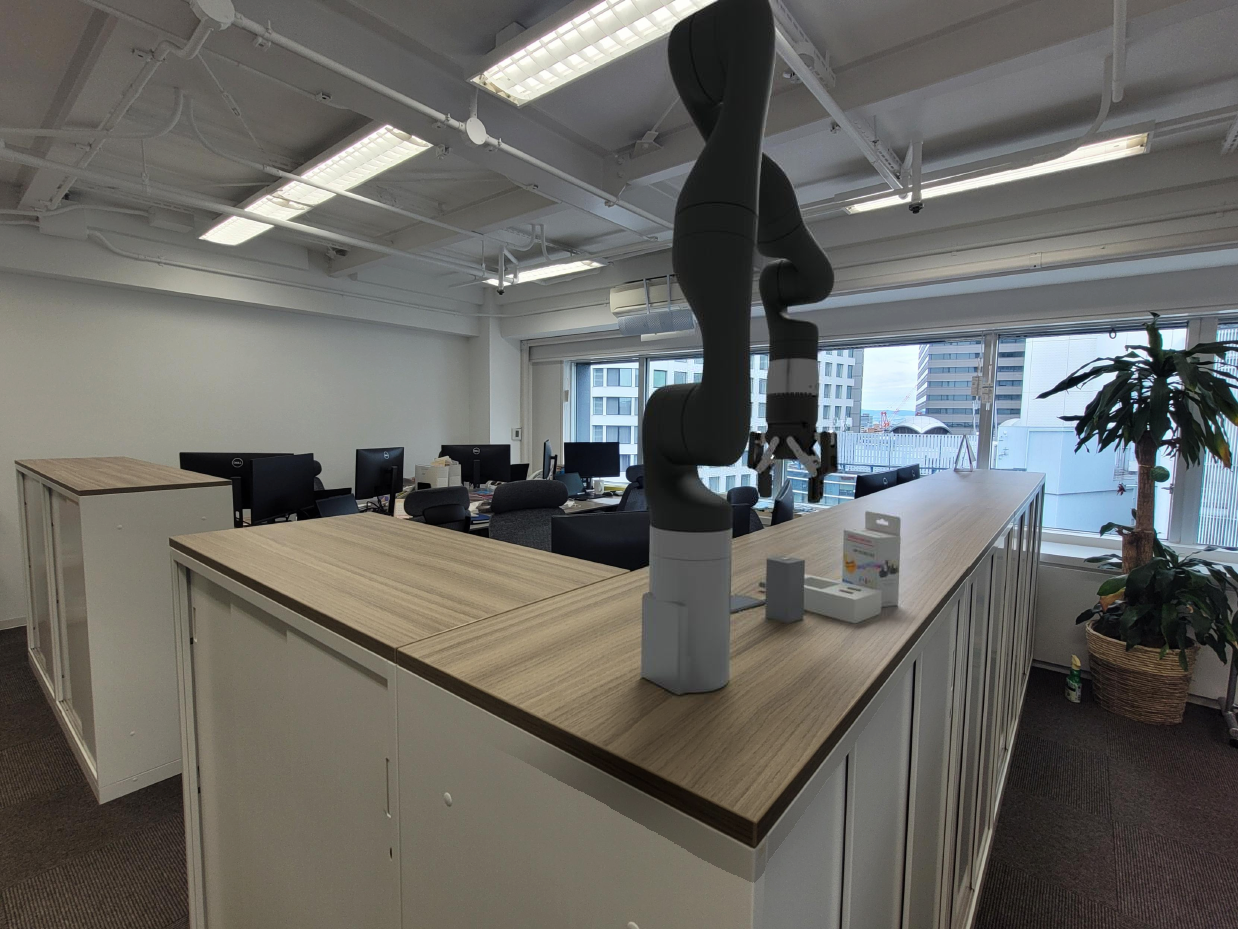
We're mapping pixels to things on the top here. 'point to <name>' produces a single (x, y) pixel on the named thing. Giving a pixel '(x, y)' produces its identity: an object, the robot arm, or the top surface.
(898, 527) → the ink box
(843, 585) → the power strip
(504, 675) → the top surface
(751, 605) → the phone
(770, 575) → the charger
